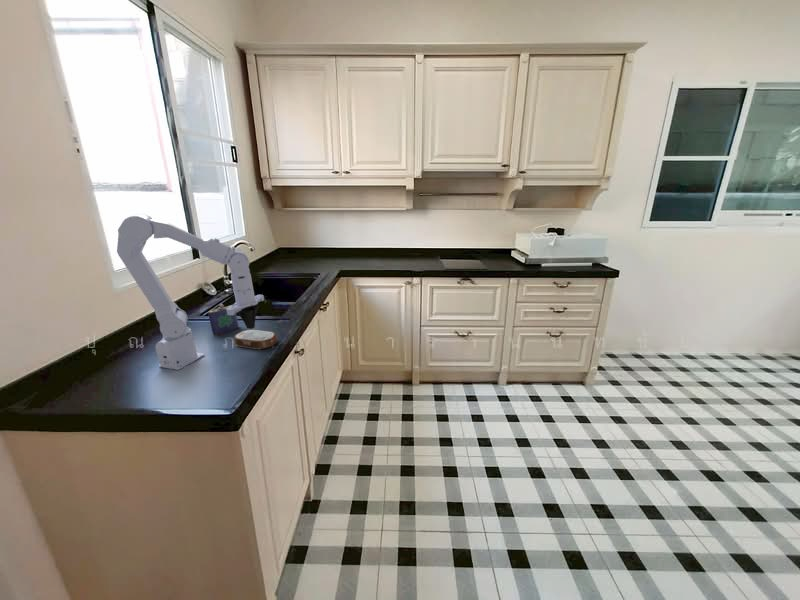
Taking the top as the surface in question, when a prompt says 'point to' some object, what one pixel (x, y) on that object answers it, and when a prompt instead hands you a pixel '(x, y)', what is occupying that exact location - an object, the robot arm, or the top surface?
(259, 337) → the tin
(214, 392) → the top surface
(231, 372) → the top surface
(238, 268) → the robot arm
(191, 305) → the top surface
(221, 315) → the flask
